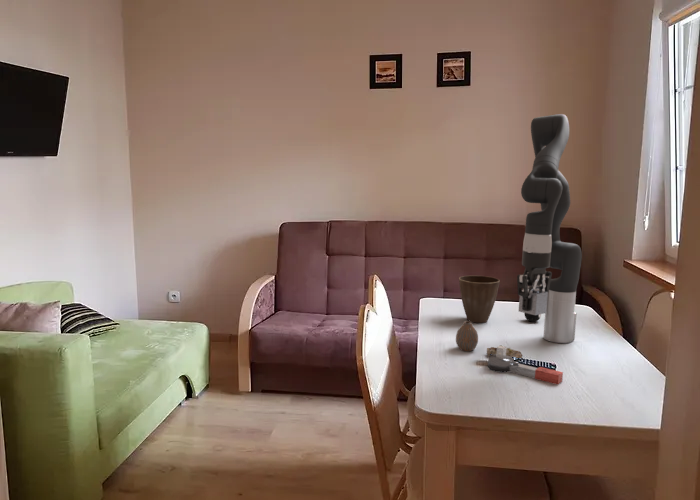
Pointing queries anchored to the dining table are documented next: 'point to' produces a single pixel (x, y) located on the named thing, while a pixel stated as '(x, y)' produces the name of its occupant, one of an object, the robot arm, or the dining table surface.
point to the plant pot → (478, 296)
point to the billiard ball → (532, 317)
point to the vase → (467, 337)
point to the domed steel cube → (536, 302)
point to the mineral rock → (508, 352)
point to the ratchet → (521, 367)
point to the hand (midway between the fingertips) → (532, 308)
